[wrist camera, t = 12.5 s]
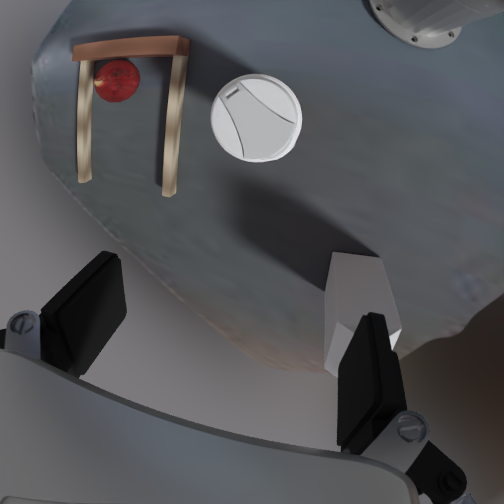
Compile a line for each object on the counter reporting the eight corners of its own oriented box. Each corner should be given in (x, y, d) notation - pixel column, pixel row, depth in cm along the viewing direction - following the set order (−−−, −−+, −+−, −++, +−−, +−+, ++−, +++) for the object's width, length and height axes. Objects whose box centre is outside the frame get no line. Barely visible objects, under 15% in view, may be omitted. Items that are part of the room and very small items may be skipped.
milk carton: (324, 292, 46) (322, 395, 30) (332, 250, 43) (337, 350, 26) (369, 297, 45) (385, 399, 29) (380, 256, 42) (409, 356, 25)
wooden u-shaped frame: (90, 46, 34) (73, 45, 30) (190, 39, 32) (178, 35, 29) (86, 178, 44) (70, 186, 41) (175, 192, 43) (163, 202, 39)
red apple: (144, 54, 34) (110, 50, 27) (154, 90, 36) (121, 93, 29) (111, 71, 35) (75, 72, 28) (121, 106, 38) (86, 112, 31)
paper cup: (230, 104, 36) (188, 111, 24) (280, 69, 33) (262, 54, 20) (267, 153, 38) (244, 184, 26) (318, 120, 35) (321, 133, 23)
